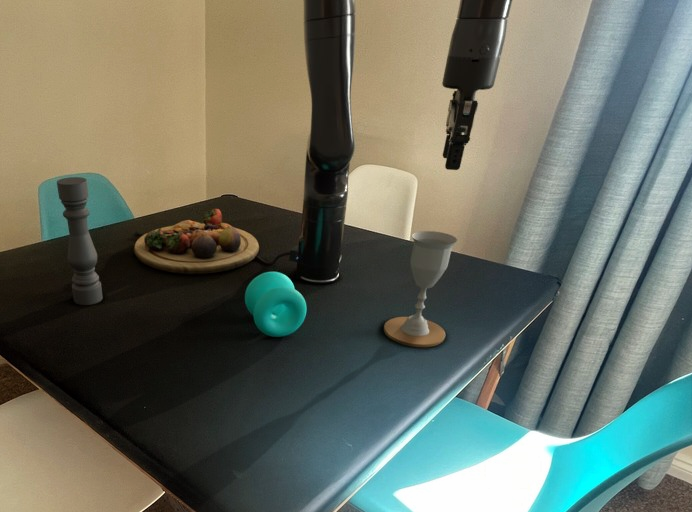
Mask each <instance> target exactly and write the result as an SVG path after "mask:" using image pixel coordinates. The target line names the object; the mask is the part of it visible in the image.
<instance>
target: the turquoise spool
mask: <svg viewBox="0 0 692 512" xmlns="http://www.w3.org/2000/svg"><path fill="white" fill-rule="evenodd" d="M294 285H295V284H294V283H293V282H292V280H291V278H289V277H288V276H287V275H286V274H284V273H282V272H278V271H267V272H262V273H261V274H259V275H257V276H256V277H254V278H253V279H252V280H251V281H250V282H249V284H248V285H247V287H246V290H245V293H244V303H245V307H246V309H247V310H248V312H249V313H250V314H251V315H252V316H253V321H254V325H255V326H256V328H257V330H259V331H260V332H261V333H262V334H264V335H266V336H268V337H271V338H272V337H273V338H281V337H287V336H289V335H291V334H292V333H294V332H296V331H297V330H298V329H299V328H300V327H301V326H302V324H303V323H304V322H305V319H306V316H307V312H308V311H307V310H308V309H307V302H306V300H305V297H304V296H303V295H302V294H301V292H299V290H297V289H295V286H294Z"/></svg>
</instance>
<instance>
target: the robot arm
mask: <svg viewBox="0 0 692 512" xmlns="http://www.w3.org/2000/svg"><path fill="white" fill-rule="evenodd" d="M512 4H513V0H459V4H458V10H457V15H456V20H455V24H454V27H453V30H452V33H451V37H450V41H449V47H448V52H447V57H446V61H445V62H446V63H445V68H444V72H443V77H442V82H441V83H442V84H441V85H442V87H443V88H445V89H450V90H454V91H453V93H452V98H451V99H449V103H448V109H447V116H446V123H445V124H446V125H445V126H446V129H445V134H446V137H445V141H444V145H443V146H444V147H443V151H442V158H444V159H446V160H445V164H444V167H445V169H446V170H448V171H449V170H450V171H458V170H460V168H461V166H462V162H463V161H462V160H463V156H464V152H465V146H467V144H469V142H470V141H471V133H472V130H473V127H474V122H475V115H476V113H477V111H478V107H479V102H478V100H476V93H477V92H478V91H479V90H480V91H485V90H490V89H492V88H493V87H494V85H495V81H496V78H497V73H498V69H499V65H500V61H501V57H502V53H503V50H504V49H503V48H504V44H505V40H506V35H507V27H508V20H509V19H508V18H509V17H510V16H509V15H510V11H511V8H512ZM355 40H356V0H303V43H304V44H303V45H304V57H305V65H306V72H307V79H308V84H309V91H310V100H311V101H310V103H311V115H310V133H309V135H308V139H307V141H306V153H305V164H304V165H305V166H304V168H305V169H304V180H303V199H302V212H301V225H300V228H301V229H300V236H299V238H298V244H296V245H295V246H294V247H292V248H290V249H289V251H287V252H286V251H285V252H282V253H279V254H278V255H277V256H275V257H274V258H273V260H272V261H266V260H264V259H263V258H261V257H260V256H258V254H257V255H256V256H255V257H254V259H256V260H258V261H259V262H261V263H263V264H265V265H268V266H272V265H274V264H276V263H277V261H278V260H279V259H280V258H282V257H285V256H289V259H288V261H290V262H294V263H296V271H295V279H296V280H301V281H303V282H305V283H309V284H314V285H325V284H332V283H334V282H336V281H338V279H339V272H340V262H341V260H342V254H341V253H342V248H343V247H342V246H343V238H344V229H345V221H346V212H347V205H348V195H349V173H350V164H351V161H352V159H353V157H354V155H355V150H356V149H355V148H356V145H355V137H354V128H353V117H352V100H351V98H352V97H351V96H352V83H353V75H354V74H353V73H354V62H355V46H356V43H355V42H356V41H355ZM134 234H135V235H137V236H139V237H142V236H143V235H145V233H141V232H138V231H135V233H134Z"/></svg>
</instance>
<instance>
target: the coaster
mask: <svg viewBox="0 0 692 512" xmlns="http://www.w3.org/2000/svg"><path fill="white" fill-rule="evenodd" d="M409 317H410V316H398V317H393V318H390V319H388V320H387V321H386V322H385V323H384V325H383V331H384V334H385V335H386V336H387V337H388V338H389V339H391V340H392V341H394V342H396V343H398V344H401V345H403V346H409V347H413V348H431V347H436V346H439V345H440V344H442V343H443V342H444V340H445V338H446V332H445V330H444V328H443V327H441V326H440V325H439V324H437V323H436V322H433V321H431V320H430V319H429V320H428V319H426V321H427V325H428V329H429V333H428V334H427V335H424V336H414V335H410V334H407V333H405V332H403V331H402V329H401V326H402V325H403V324H404V322H405V321H406V320H407V318H409Z"/></svg>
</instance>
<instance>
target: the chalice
mask: <svg viewBox="0 0 692 512" xmlns="http://www.w3.org/2000/svg"><path fill="white" fill-rule="evenodd" d="M411 237H412V240H413V245H412V252H411V256H410V261H409V263H410V268H411V273H412V276H413V279H414V282H415V285H416V286H417V287H418V288H419V289H420V291H419V293H418V295H417V296H416V298H417V302H416V304H415V305H414V307H415V313H414V314H412V315H410V316H408V317H409V318H407V320H406V321H405V322H404V324H403V325H402V326H401V329H402V331H403V332H405V333H407V334H410V335H414V336H424V335H427V334H428V333H429V329H428V325H427V321H426V320H427V319H426V318H425V317H424V316H423V315H422V312H423V310H424V309H425V308H426V306H425V303H424V302H425V300H426V299H427V297H428V296H427V291H428V290H427V289H431V288H433V287H434V286H435V285H436V283H437V282H438V281H439V280H440V279H441V278H442V276H443V274H444V273H445V271H446V270H447V269H448V266H449V261H450V258H451V253H452V249H453V246H454V245H455V244H456V243H457V241H458V238H457V237H456V236H454V235H452V234H449V233H446V232H441V231H434V230H433V231H431V230H424V231H423V230H422V231H416V232H414V233H412V235H411Z"/></svg>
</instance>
